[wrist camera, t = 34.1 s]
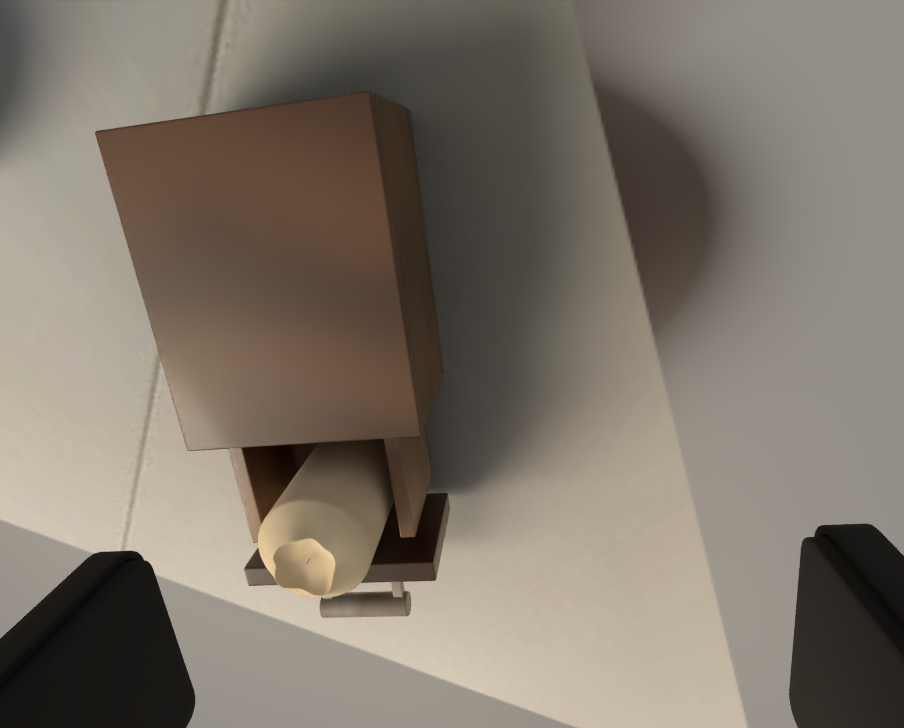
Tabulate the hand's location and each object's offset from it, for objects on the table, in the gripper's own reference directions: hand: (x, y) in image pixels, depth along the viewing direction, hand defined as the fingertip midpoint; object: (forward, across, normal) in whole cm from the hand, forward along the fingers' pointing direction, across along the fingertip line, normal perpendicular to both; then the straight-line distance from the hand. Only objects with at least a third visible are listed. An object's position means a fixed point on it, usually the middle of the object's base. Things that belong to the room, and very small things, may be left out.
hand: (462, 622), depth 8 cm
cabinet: (+26, +10, -2) cm, 28 cm away
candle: (+24, +10, +10) cm, 28 cm away
